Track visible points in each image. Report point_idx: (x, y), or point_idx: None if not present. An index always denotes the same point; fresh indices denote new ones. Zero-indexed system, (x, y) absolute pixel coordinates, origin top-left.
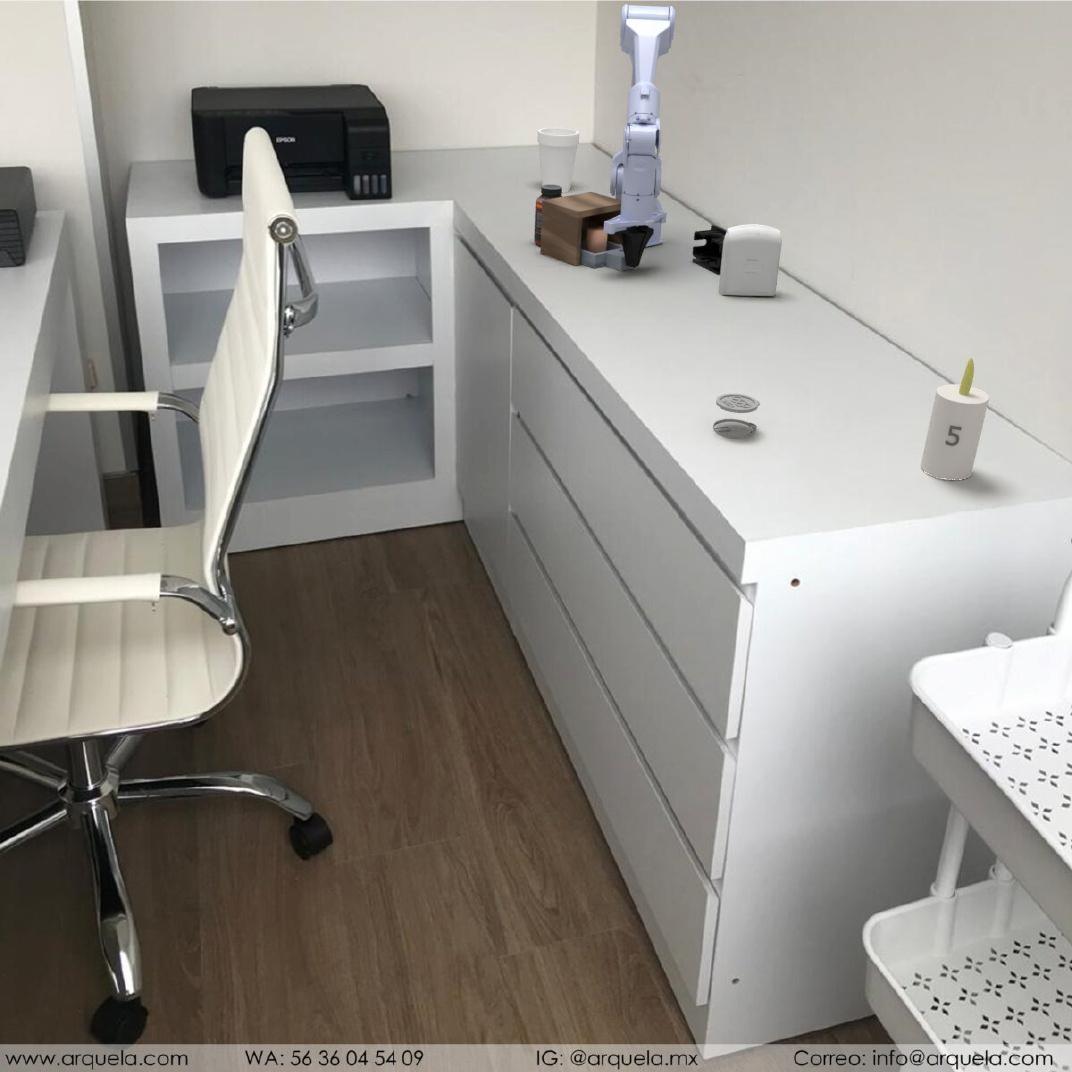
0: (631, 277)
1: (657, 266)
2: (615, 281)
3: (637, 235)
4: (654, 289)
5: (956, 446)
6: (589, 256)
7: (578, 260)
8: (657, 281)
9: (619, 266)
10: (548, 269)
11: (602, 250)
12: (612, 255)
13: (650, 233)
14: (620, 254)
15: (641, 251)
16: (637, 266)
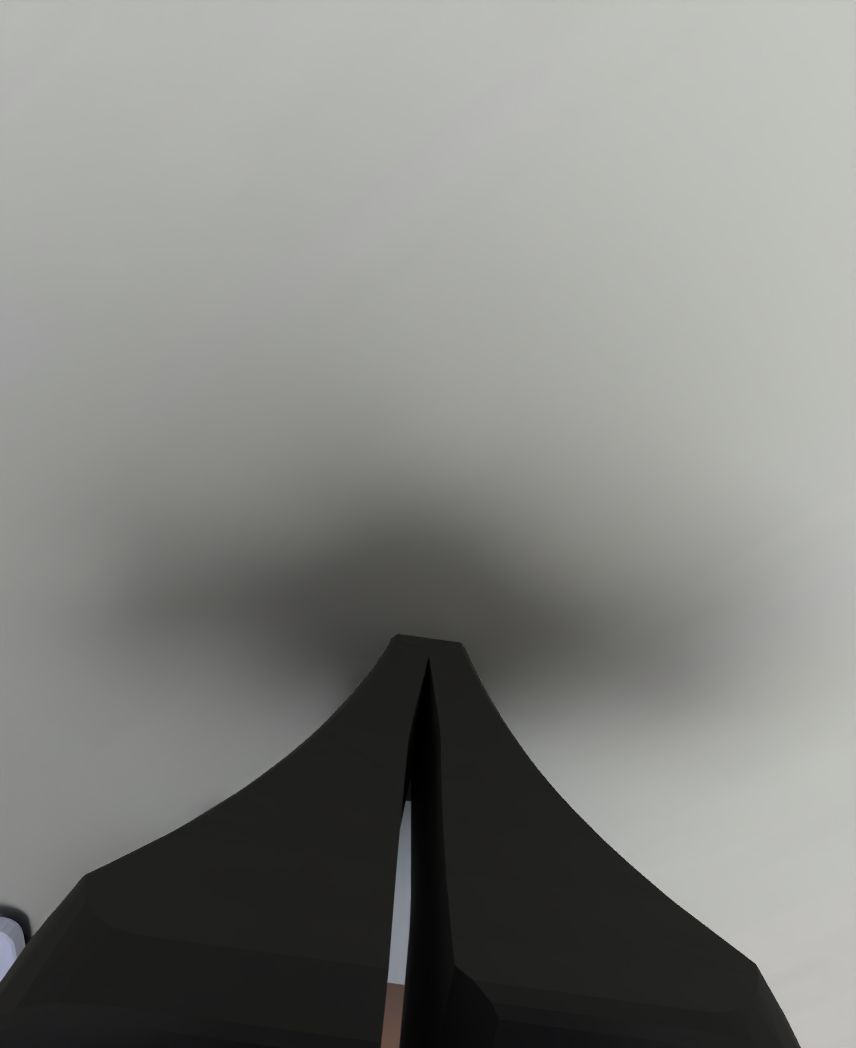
0: (577, 559)
1: (121, 589)
2: (789, 588)
3: (767, 1025)
4: (801, 122)
5: None
6: None
7: None
8: (506, 298)
9: None
10: (815, 1026)
11: (389, 1012)
12: None
13: (211, 920)
14: (408, 870)
15: (388, 716)
16: (411, 637)
